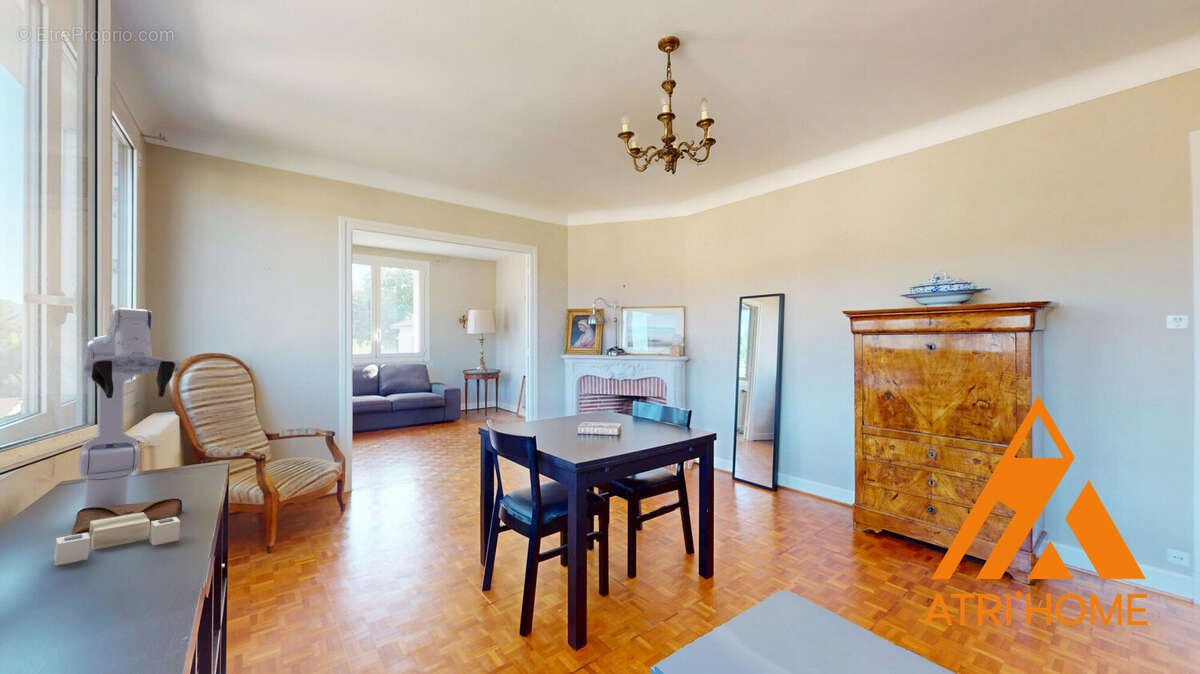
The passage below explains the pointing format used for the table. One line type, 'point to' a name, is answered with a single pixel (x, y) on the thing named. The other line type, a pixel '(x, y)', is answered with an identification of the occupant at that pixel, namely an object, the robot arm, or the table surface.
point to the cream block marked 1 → (71, 548)
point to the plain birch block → (118, 530)
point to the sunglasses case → (127, 512)
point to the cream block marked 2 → (164, 530)
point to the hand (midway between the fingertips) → (136, 394)
